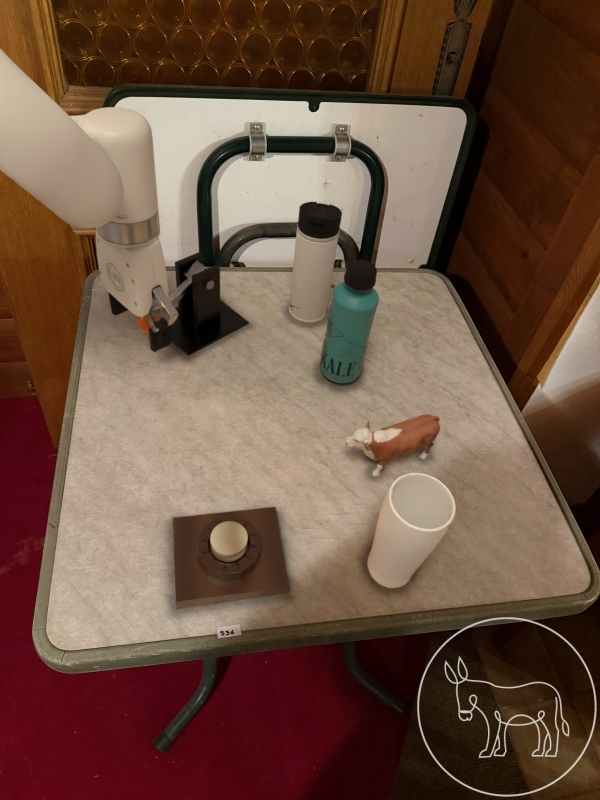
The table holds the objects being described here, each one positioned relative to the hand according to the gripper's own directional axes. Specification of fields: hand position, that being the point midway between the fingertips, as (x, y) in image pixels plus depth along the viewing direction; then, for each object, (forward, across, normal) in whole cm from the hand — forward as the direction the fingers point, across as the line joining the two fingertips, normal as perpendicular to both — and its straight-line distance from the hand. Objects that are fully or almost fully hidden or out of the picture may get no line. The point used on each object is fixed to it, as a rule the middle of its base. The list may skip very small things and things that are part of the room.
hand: (141, 328), depth 81 cm
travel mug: (+5, +9, +26) cm, 28 cm away
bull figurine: (+5, +37, +13) cm, 40 cm away
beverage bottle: (+5, +22, +20) cm, 30 cm away
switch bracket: (+5, 0, +10) cm, 12 cm away
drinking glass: (+5, +47, +2) cm, 47 cm away
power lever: (-1, 0, +6) cm, 6 cm away
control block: (+5, +34, -12) cm, 36 cm away
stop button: (+2, +34, -12) cm, 36 cm away
